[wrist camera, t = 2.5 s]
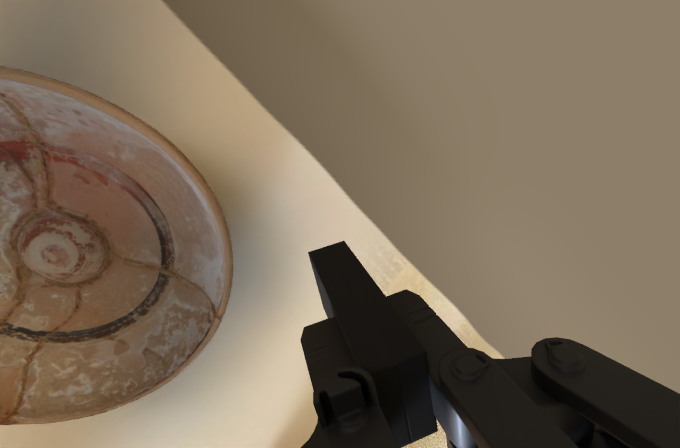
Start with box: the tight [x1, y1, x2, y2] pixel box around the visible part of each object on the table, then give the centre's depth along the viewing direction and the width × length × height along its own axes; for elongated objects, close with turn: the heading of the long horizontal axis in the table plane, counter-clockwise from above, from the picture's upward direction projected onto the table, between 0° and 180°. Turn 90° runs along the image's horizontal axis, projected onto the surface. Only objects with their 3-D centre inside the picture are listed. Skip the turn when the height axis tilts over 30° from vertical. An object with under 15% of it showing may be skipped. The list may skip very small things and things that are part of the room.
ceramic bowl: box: [0, 66, 233, 425], centre depth 22 cm, size 23×24×5 cm
